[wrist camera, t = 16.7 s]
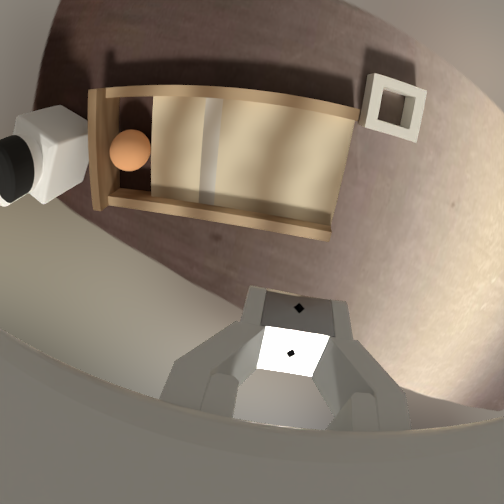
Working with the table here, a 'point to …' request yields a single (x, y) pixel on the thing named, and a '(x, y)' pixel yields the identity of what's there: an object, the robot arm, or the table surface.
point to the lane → (229, 156)
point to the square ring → (410, 111)
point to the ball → (130, 150)
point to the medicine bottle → (43, 155)
